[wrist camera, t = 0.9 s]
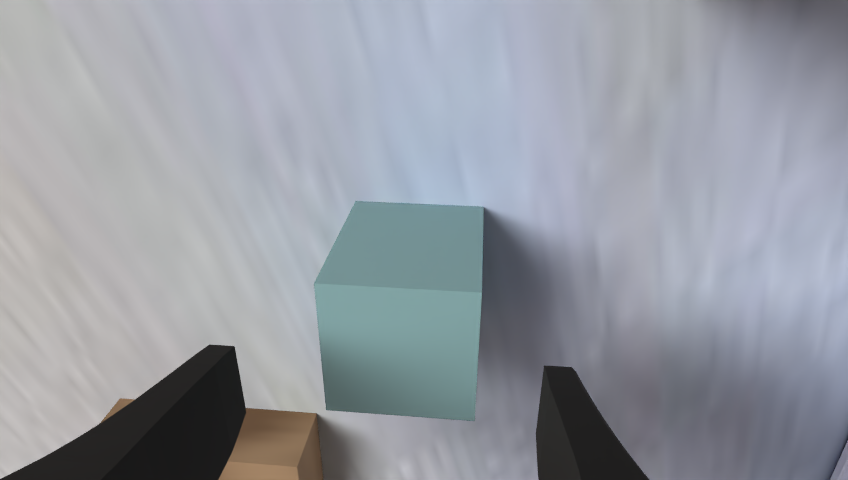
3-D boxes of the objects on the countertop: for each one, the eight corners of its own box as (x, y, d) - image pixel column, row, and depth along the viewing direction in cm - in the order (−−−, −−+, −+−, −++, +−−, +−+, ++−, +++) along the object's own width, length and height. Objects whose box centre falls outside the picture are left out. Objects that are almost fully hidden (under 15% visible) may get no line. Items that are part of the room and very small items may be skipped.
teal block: (483, 206, 18) (481, 292, 14) (477, 314, 20) (474, 421, 16) (355, 200, 18) (314, 283, 14) (361, 307, 20) (326, 410, 16)
